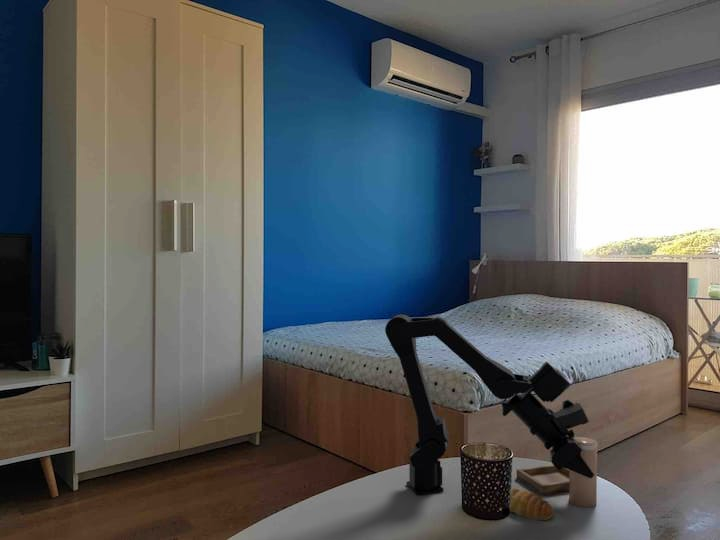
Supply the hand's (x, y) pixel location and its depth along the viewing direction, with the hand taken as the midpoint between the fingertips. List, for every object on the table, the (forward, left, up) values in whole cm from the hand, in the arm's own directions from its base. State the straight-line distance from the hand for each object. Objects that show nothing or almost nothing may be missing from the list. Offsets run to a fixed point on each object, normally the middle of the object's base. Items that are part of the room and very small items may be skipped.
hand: (589, 471), depth 119 cm
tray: (-1, +11, -7) cm, 13 cm away
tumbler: (-1, +1, -7) cm, 7 cm away
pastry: (-15, +1, -7) cm, 16 cm away
